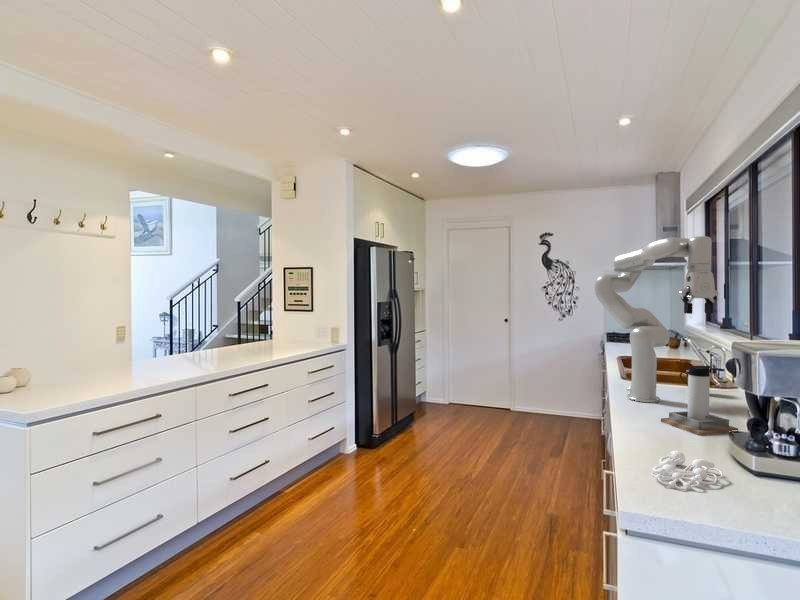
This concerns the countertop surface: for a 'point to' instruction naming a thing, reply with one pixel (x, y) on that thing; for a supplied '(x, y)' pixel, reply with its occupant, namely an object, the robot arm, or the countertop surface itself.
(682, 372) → the coffee mug
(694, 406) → the travel mug
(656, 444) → the countertop surface
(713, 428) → the frame
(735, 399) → the countertop surface
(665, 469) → the tangled rod sculpture
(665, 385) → the countertop surface
